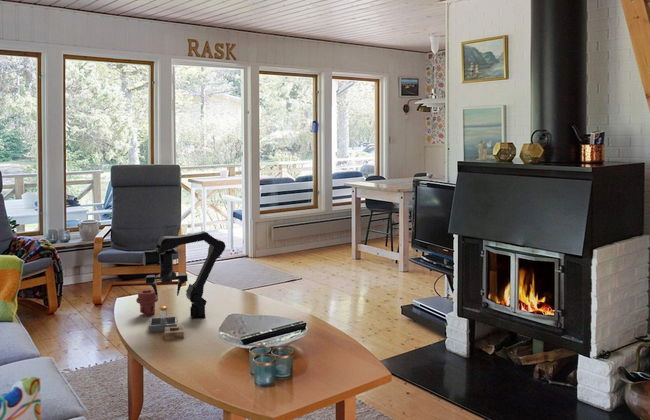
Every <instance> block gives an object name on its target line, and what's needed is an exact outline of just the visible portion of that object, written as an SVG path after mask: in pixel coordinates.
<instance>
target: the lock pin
mask: <svg viewBox="0 0 650 420" xmlns="http://www.w3.org/2000/svg"><path fill="white" fill-rule="evenodd" d="M167 309H168V306H167V305H160V306H159V312H160V313H159V314H160V318H161V325H165V324H167V317H168V310H167Z"/></svg>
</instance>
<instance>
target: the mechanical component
mask: <svg viewBox="0 0 650 420" xmlns="http://www.w3.org/2000/svg"><path fill="white" fill-rule="evenodd" d="M158 297H159V296H158ZM158 297H157V296H156V294H155V291H154V289H151V288H145V289H142V290H140V291H138V292H137V298H136V300H135V301H136V303H137V304H138V305H139V313H141V314H142V315H143V317H148V316H150V315H151V316H152V315H155V314H156V303H157V302H159V298H158Z"/></svg>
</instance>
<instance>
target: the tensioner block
mask: <svg viewBox="0 0 650 420" xmlns="http://www.w3.org/2000/svg"><path fill="white" fill-rule="evenodd" d="M179 339H181V340H182V339H185V328H184V325H177V326H174V327H165V332H164V340H165V341H168V340H179Z"/></svg>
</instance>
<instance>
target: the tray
mask: <svg viewBox="0 0 650 420" xmlns="http://www.w3.org/2000/svg"><path fill="white" fill-rule="evenodd" d="M174 326H178V316H177V315H175V316H174V315H173V316H167V324H165V325H161V318H160V317H149V323H148V332H149V333H151V334H152V333H162V332H164V333H165V327H174Z"/></svg>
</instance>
